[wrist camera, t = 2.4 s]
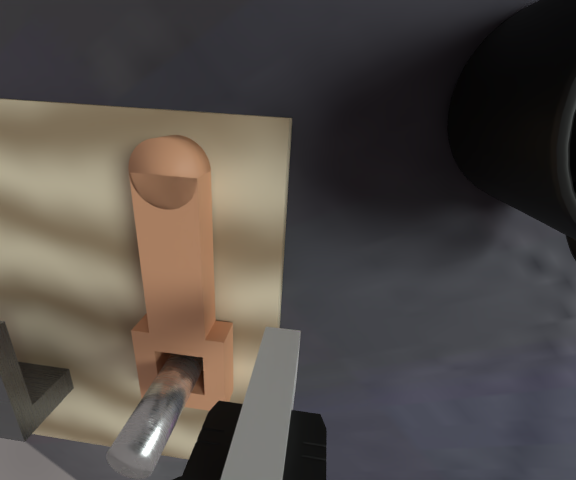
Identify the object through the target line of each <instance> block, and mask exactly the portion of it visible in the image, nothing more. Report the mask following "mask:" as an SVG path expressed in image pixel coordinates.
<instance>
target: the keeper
mask: <svg viewBox="0 0 576 480" xmlns="http://www.w3.org/2000/svg"><path fill="white" fill-rule="evenodd" d="M73 389H74V386H73V382H72V378H71V374H70V370H69V369H66V368H59V367H52V366H45V365H38V364H31V363H24V362H18V360H17V357H16V354H15V351H14V348H13V345H12V342H11V339H10V336H9V333H8V330H7V327H6V324H5V321H0V438H6V439H11V440H18V441H23V442H25V441H26V440H27V439H28V438H29V436H30V435H31V434H32V433H33V432H34V431H35V430H36V429H37V428H38V427H39V426H40V424H41V423H42V422H43V421H44V420H45V419H46V418H47V417H48V416H49V415H50V414H51V412H52V411H53V410H54V409H55V408H56V407H57V406H58V405H59V404H60V403H61V402H62V400H63V399H64V398H65V397H66V396H67V395H68V394H69V393H70V392H71V391H72V390H73Z"/></svg>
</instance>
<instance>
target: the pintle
mask: <svg viewBox="0 0 576 480" xmlns="http://www.w3.org/2000/svg"><path fill="white" fill-rule="evenodd" d="M202 370H203V358H202V357H195V356H187V355H180V354H173V353H171V355H170V356H169V358H168V359H167V361H166V362H165V364H164V365H163V367H162V368H161V370H160V372H159V373H158V375H157V376H156V378H155V379H154V381H153V382H152V384H151V385H150V387H149V389H148V390H147V392H146V393H145V395H144V396H143V398H142V399H141V401H140V402H139V404H138V405H137V407H136V409H135V410H134V412H133V413H132V415H131V416H130V418H129V419H128V421H127V422H126V424H125V426H124V427H123V429H122V430H121V432H120V433H119V435H118V436H117V438H116V439H115V441H114V442H113V444H112V446H111V447H110V449H109V450H108V452H107V455H106V457H107V461H108V463H109V465H110V466H111V467H112V468H113V469H114V470H115V471H116V472H118V473H120V474H121V475H123V476H126V477H129V478H134V479H142V478H146V477H148V476H150V475H151V474H152V472H153V470H154V468H155V466H156V464H157V462H158V460H159V458H160V456H161V454H162V452H163V450H164V447H165V445H166V443H167V441H168V439H169V437H170V435H171V433H172V431H173V429H174V427H175V425H176V423H177V421H178V419H179V417H180V415H181V413H182V411H183V409H184V407H185V404H186V402H187V400H188V398H189V396H190V394H191V392H192V390H193V388H194V386H195V384H196V382H197V380H198V378H199V376H200V374H201V372H202Z"/></svg>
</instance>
